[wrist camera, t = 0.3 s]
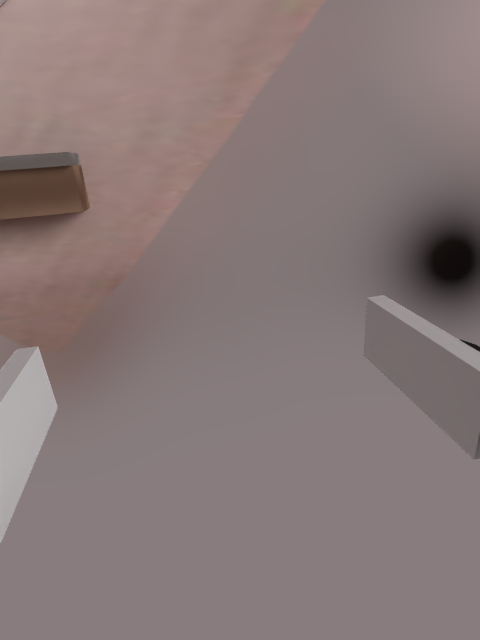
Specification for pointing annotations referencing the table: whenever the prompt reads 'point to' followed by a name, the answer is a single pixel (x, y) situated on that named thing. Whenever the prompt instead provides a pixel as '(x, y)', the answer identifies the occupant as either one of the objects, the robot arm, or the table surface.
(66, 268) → the table surface
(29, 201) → the block
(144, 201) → the table surface
